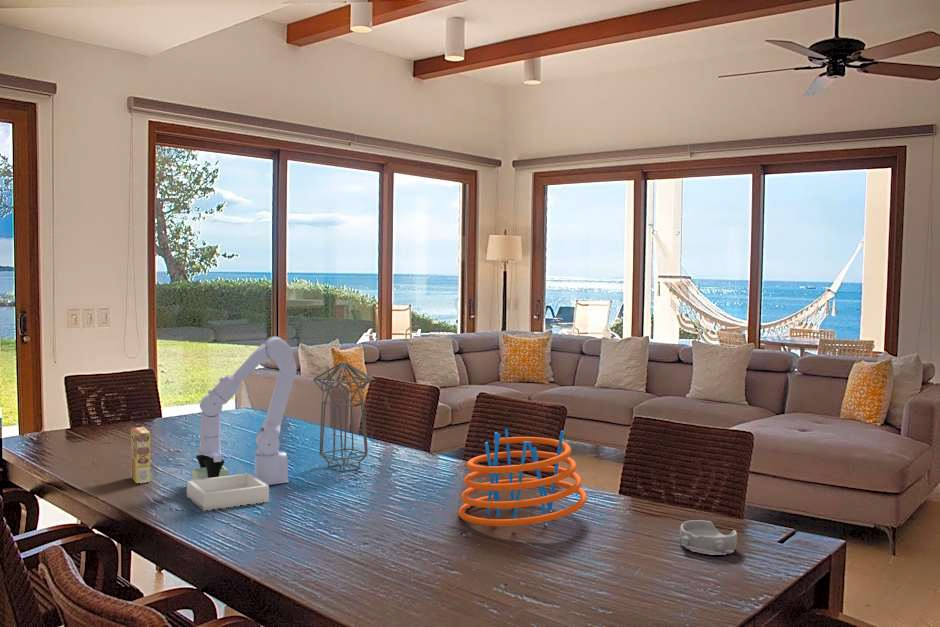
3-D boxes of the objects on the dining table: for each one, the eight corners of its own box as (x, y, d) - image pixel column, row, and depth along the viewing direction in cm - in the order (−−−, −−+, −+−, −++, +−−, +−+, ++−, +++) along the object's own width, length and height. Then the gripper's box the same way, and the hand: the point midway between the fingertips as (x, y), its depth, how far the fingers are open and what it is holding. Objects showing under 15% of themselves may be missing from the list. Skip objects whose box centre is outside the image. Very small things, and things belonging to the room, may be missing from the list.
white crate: (248, 488, 241) (249, 473, 240) (268, 501, 227) (269, 485, 227) (186, 496, 230) (186, 480, 230) (203, 511, 217) (203, 494, 217)
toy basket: (501, 551, 196) (493, 453, 195) (437, 520, 227) (430, 435, 226) (615, 521, 212) (607, 430, 212) (541, 496, 243) (534, 416, 242)
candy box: (150, 482, 243) (151, 431, 243) (135, 484, 241) (136, 433, 240) (144, 476, 251) (144, 426, 250) (129, 477, 248) (130, 427, 248)
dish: (692, 535, 210) (693, 516, 210) (745, 548, 201) (746, 528, 201) (667, 549, 199) (668, 528, 198) (722, 563, 190) (723, 542, 190)
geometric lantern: (336, 476, 257) (335, 366, 256) (310, 467, 269) (310, 362, 268) (377, 468, 268) (377, 362, 266) (351, 460, 280) (350, 358, 278)
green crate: (221, 481, 247) (222, 465, 247) (227, 486, 242) (228, 469, 242) (191, 485, 242) (191, 468, 241) (197, 490, 237) (197, 473, 237)
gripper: (189, 432, 245) (189, 477, 246) (204, 441, 233) (203, 488, 234) (213, 430, 249) (212, 474, 250) (228, 439, 237) (228, 485, 238)
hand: (209, 481), depth 242 cm, fingers closed on green crate, 6 cm apart
